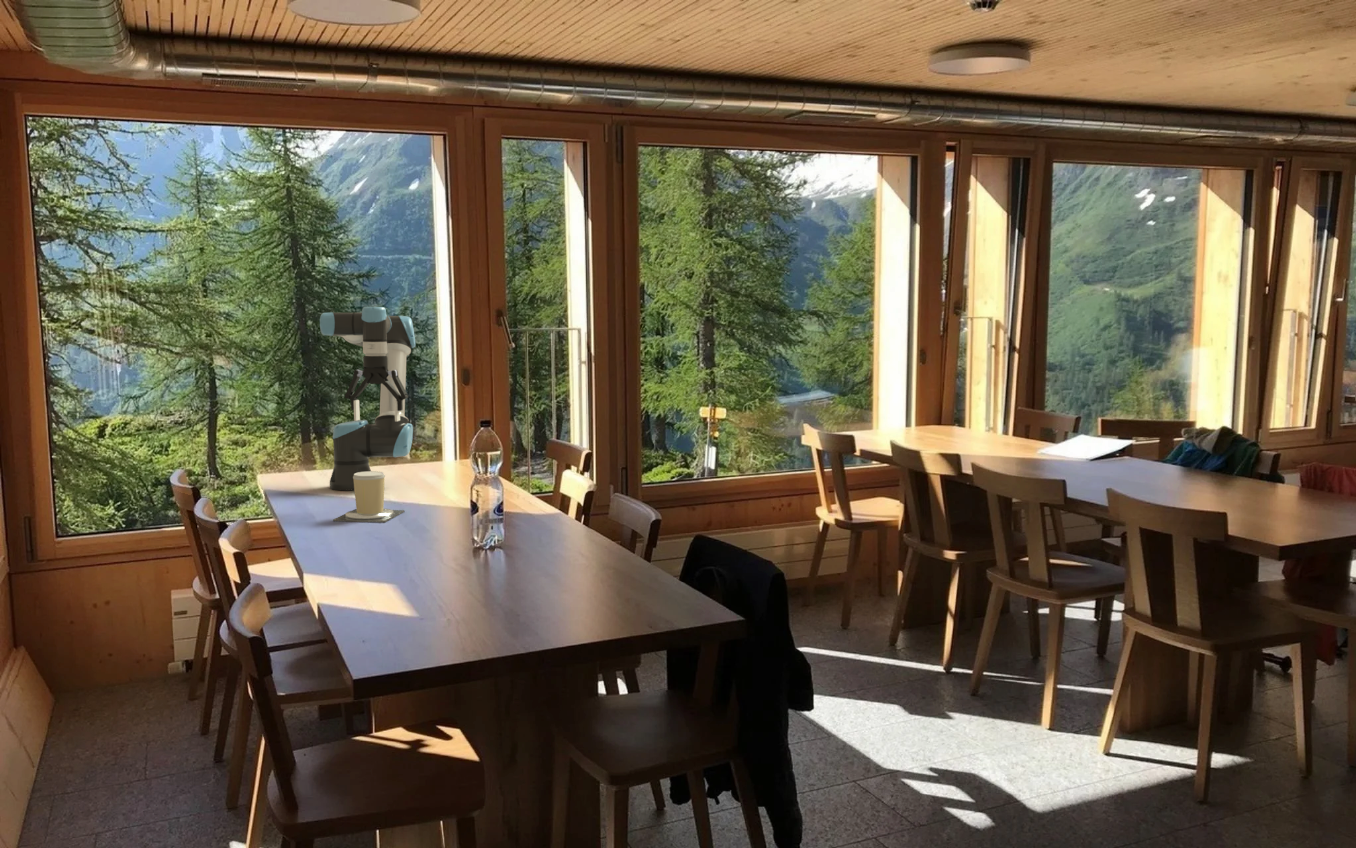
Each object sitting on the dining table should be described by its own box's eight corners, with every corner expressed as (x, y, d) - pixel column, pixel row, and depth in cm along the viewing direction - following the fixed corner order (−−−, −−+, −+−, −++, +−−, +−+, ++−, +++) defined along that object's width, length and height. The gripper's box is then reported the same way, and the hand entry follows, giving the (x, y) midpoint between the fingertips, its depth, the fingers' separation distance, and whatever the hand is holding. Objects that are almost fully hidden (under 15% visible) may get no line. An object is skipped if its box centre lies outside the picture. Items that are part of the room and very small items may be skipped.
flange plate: (355, 510, 327) (355, 506, 327) (404, 511, 326) (404, 508, 326) (333, 521, 312) (333, 517, 311) (385, 522, 310) (384, 518, 310)
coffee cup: (373, 508, 325) (371, 470, 324) (392, 511, 320) (391, 473, 318) (347, 513, 318) (346, 474, 316) (367, 516, 312) (365, 477, 311)
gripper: (333, 355, 334) (335, 421, 337) (408, 355, 331) (410, 422, 334) (342, 354, 341) (345, 418, 344) (416, 354, 339) (418, 419, 341)
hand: (377, 420), depth 339 cm, fingers open, 13 cm apart
